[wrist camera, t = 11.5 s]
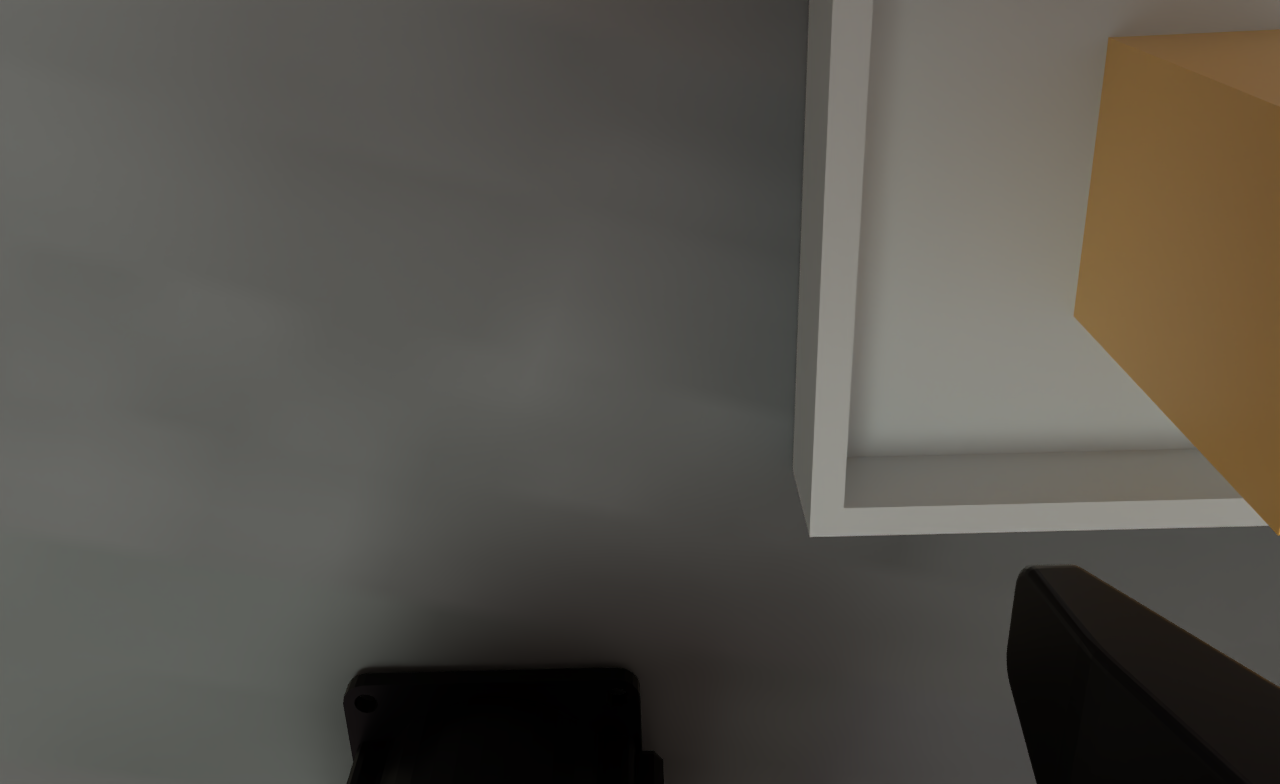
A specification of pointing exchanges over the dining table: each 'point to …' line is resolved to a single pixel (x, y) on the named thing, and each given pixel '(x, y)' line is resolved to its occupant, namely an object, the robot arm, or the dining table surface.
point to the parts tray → (973, 277)
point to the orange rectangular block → (1193, 242)
